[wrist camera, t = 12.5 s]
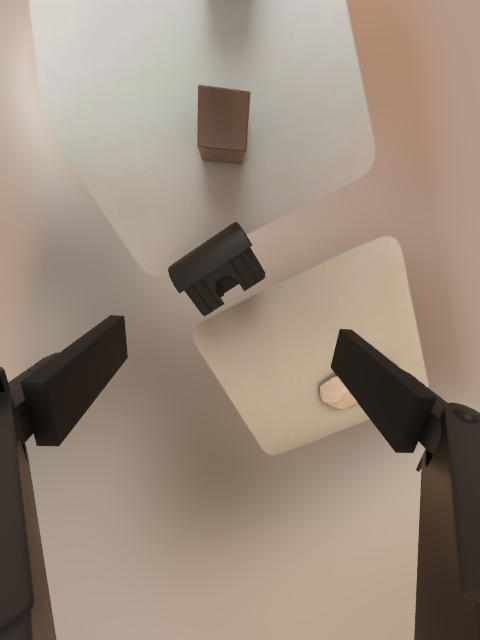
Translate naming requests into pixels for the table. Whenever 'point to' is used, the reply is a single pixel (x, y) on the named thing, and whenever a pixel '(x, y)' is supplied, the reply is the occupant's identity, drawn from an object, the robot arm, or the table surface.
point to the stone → (336, 394)
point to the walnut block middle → (222, 123)
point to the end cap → (217, 268)
